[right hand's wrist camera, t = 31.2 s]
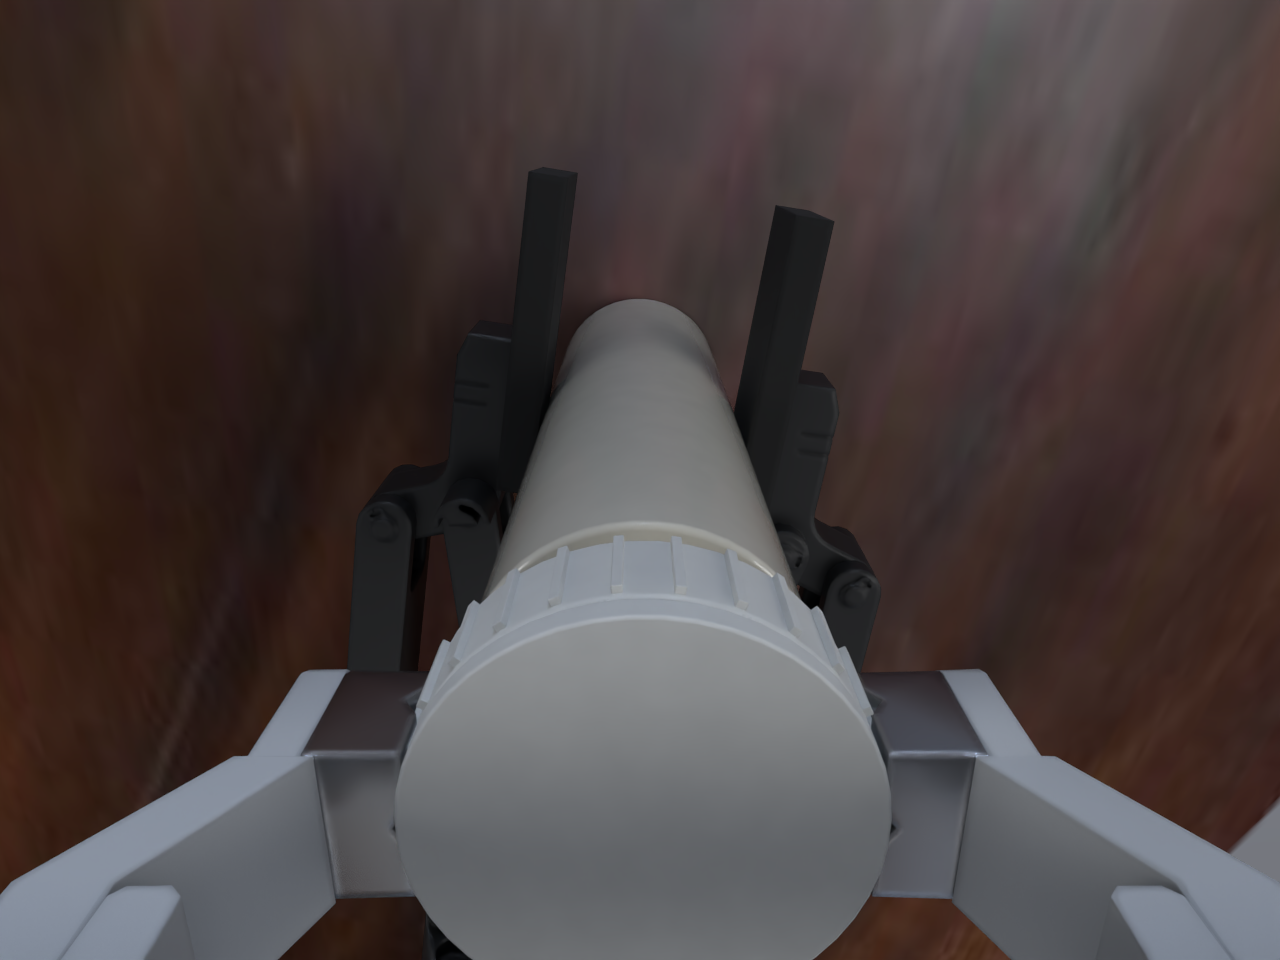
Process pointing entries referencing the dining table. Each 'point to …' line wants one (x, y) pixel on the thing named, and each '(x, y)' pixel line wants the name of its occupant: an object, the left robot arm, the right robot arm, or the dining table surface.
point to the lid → (642, 766)
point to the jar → (639, 450)
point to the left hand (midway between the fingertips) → (679, 195)
